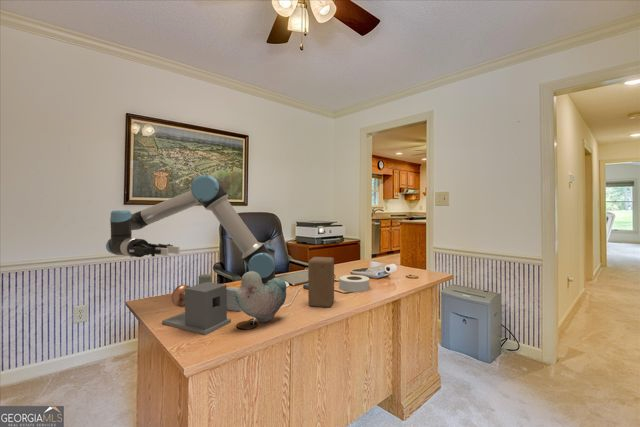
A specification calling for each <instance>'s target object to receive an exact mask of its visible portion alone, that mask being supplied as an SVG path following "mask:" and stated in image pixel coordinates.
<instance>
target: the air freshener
mask: <svg viewBox="0 0 640 427" xmlns="http://www.w3.org/2000/svg"><path fill="white" fill-rule="evenodd" d="M212 279H213V278H212V274H209V273H206V274H205V273H204V274H200V275H198V284H202V283H205V282H210V283H213V280H212Z"/></svg>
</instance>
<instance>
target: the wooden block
mask: <svg viewBox="0 0 640 427" xmlns="http://www.w3.org/2000/svg"><path fill="white" fill-rule="evenodd" d="M307 263H308V266H307V267H308V268H307V269H308V270H307V272H308V273H307V274H308V277H307V278H308V280H307V281H308V287H307V288H308V294H307V296H308V297H307V298H308V306H309V307H318V308H319V307H321V308H330V307H331V306H333V305H332V304H333V302H334V301H335V258H334V257H330V256H329V257H328V256H327V257H325V256H313V257H312V258H310V259H309V260H308V262H307Z"/></svg>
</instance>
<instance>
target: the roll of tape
mask: <svg viewBox="0 0 640 427" xmlns="http://www.w3.org/2000/svg"><path fill="white" fill-rule="evenodd" d="M338 279H339V280H338V285H339V286H338V287H339V289H340V290H341V291H343V292H347V293H363V292H368V291H369V290H370V278H369V277H368V276H365V275H362V274H360V275H358V274H345V275H342V276H340V277H339V278H338Z"/></svg>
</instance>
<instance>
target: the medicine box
mask: <svg viewBox="0 0 640 427" xmlns="http://www.w3.org/2000/svg"><path fill="white" fill-rule="evenodd" d="M226 288H227V311H232V312H233V311H235V312H243V311H242V310H241V309H240V307H239V305H238V303H237V301H236V298H235V293H236V291H237V290H238V289H239V288H240V287H234V286H229V287H226Z"/></svg>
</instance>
